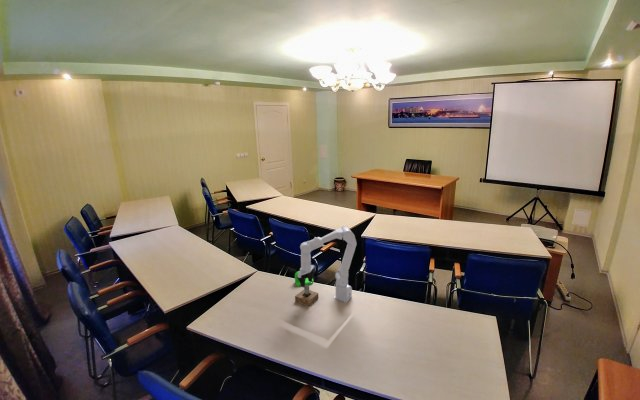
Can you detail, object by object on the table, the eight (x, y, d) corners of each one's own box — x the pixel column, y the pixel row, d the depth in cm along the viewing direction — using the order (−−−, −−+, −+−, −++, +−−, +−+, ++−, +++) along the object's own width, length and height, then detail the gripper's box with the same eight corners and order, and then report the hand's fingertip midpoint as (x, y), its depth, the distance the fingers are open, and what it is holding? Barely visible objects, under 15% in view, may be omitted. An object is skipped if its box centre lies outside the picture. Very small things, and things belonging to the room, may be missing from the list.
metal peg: (310, 299, 172) (310, 285, 170) (307, 301, 169) (307, 288, 167) (306, 297, 173) (306, 284, 172) (303, 300, 171) (303, 286, 169)
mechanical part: (297, 287, 187) (296, 275, 185) (295, 282, 193) (294, 271, 191) (314, 283, 190) (314, 272, 189) (312, 279, 196) (311, 269, 194)
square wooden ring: (318, 298, 173) (318, 293, 172) (308, 306, 165) (308, 300, 164) (305, 293, 178) (304, 288, 177) (295, 301, 170) (295, 296, 169)
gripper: (307, 256, 175) (308, 277, 177) (292, 265, 163) (293, 287, 166) (317, 259, 171) (317, 280, 174) (302, 268, 159) (303, 290, 162)
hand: (306, 283), depth 169 cm, fingers open, 7 cm apart
